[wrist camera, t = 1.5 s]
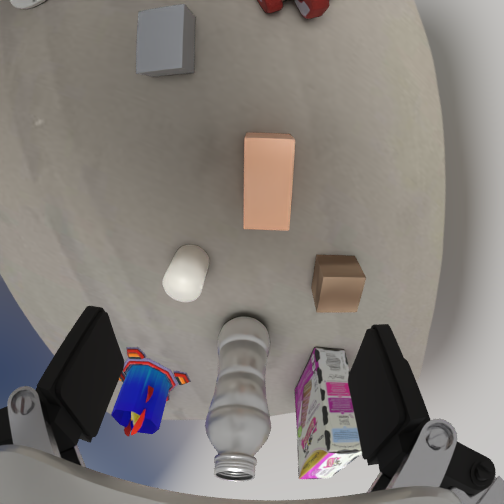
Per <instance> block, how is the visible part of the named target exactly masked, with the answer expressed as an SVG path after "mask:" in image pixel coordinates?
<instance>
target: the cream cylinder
mask: <svg viewBox="0 0 504 504" xmlns="http://www.w3.org/2000/svg"><path fill="white" fill-rule="evenodd" d="M208 267H209V257H208V255H207V253H206V252H205V251H204V250H203V249H202V248H200V247H198V246H196V245H184V246H182V247H180V248H179V249H178V250H177V252H176V254H175V256H174V258H173V259H172V261H171V263H170V265H169V267H168V269H167V271H166V273H165V275H164V278H163V288H164V290H165V292H166V293H167V294H168V295H169V296H170V297H171V298H173V299H175V300H177V301H181V302H190V301H193V300H195V299H197V298H198V297H199V295H200V294H201V291H202V287H203V284H204V280H205V277H206V274H207V270H208Z"/></svg>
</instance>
